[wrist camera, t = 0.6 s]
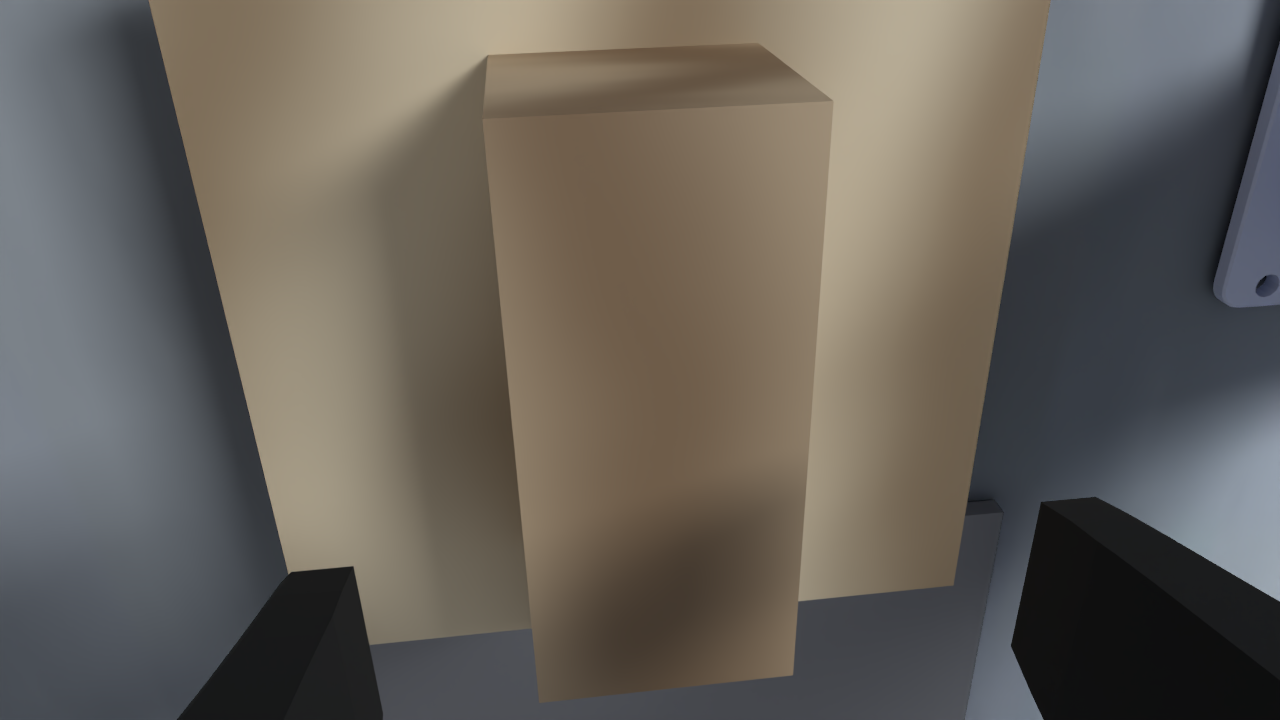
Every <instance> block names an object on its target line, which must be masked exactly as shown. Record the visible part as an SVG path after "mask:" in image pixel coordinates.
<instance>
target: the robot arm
mask: <svg viewBox="0 0 1280 720" xmlns="http://www.w3.org/2000/svg"><path fill="white" fill-rule="evenodd" d="M1265 276H1267V278H1266V280H1265V281H1264V283H1263V284H1262V285H1261V286H1260V287H1259V288H1257V289H1256V286H1257V284H1258V282H1259V281H1260V280H1261V279H1262V278H1263V277H1265ZM1213 292H1214V294H1215V297H1216V298H1218V299H1219V300H1220V301H1222V302H1224V303H1225V304H1227V305H1228V306H1230V307H1236V308H1242V307H1256V306H1269V305H1280V43H1279V47H1278V50H1277V54H1276V57H1275V61H1274V65H1273V68H1272V72H1271V76H1270V79H1269V83H1268V87H1267V90H1266V94H1265V98H1264V101H1263V105H1262V108H1261V112H1260V116H1259V119H1258V123H1257V127H1256V130H1255V134H1254V138H1253V141H1252V145H1251V148H1250V152H1249V156H1248V159H1247V163H1246V167H1245V170H1244V174H1243V178H1242V181H1241V185H1240V189H1239V192H1238V196H1237V199H1236V203H1235V207H1234V210H1233V214H1232V218H1231V221H1230V225H1229V229H1228V232H1227V236H1226V239H1225V243H1224V247H1223V250H1222V254H1221V258H1220V261H1219V265H1218V269H1217V272H1216V276H1215V280H1214V284H1213ZM1011 647H1012V649H1013V652H1014V654H1015V656H1016V659H1017V661H1018V663H1019V666H1020V668H1021V670H1022V673H1023V675H1024V677H1025V680H1026V682H1027V684H1028V687H1029V689H1030V691H1031V694H1032V696H1033V698H1034V700H1035V702H1036V704H1037V706H1038V709H1039V711H1040V713H1041V715H1042V717H1043V719H1044V720H1280V602H1279V601H1278V600H1276V599H1274V598H1272V597H1271V596H1269V595H1267V594H1266V593H1264V592H1262V591H1260V590H1259V589H1257V588H1255V587H1253V586H1252V585H1250V584H1248V583H1247V582H1245V581H1243V580H1241V579H1240V578H1238V577H1236V576H1235V575H1233V574H1231V573H1229V572H1228V571H1226V570H1224V569H1223V568H1221V567H1219V566H1217V565H1216V564H1214V563H1212V562H1211V561H1209V560H1207V559H1206V558H1204V557H1202V556H1200V555H1199V554H1197V553H1195V552H1194V551H1192V550H1190V549H1188V548H1187V547H1185V546H1183V545H1182V544H1180V543H1178V542H1176V541H1175V540H1173V539H1171V538H1170V537H1168V536H1166V535H1164V534H1163V533H1161V532H1159V531H1157V530H1156V529H1154V528H1152V527H1150V526H1149V525H1147V524H1145V523H1143V522H1142V521H1140V520H1138V519H1136V518H1135V517H1133V516H1131V515H1129V514H1127V513H1125V512H1124V511H1122V510H1120V509H1118V508H1116V507H1114V506H1112V505H1110V504H1108V503H1106V502H1104V501H1102V500H1100V499H1098V498H1096V497H1091V498H1080V499H1069V500H1058V501H1048V502H1041V505H1040V510H1039V515H1038V520H1037V524H1036V529H1035V534H1034V539H1033V543H1032V548H1031V553H1030V558H1029V563H1028V567H1027V572H1026V577H1025V582H1024V586H1023V591H1022V596H1021V601H1020V606H1019V610H1018V615H1017V620H1016V625H1015V629H1014V634H1013V639H1012V644H1011ZM177 720H383V710H382V705H381V700H380V695H379V691H378V686H377V681H376V676H375V671H374V666H373V661H372V656H371V651H370V646H369V641H368V636H367V631H366V626H365V621H364V616H363V611H362V606H361V601H360V596H359V591H358V586H357V581H356V576H355V571H354V566H349V567H338V568H328V569H317V570H306V571H295V572H291V573H290V574H289V575H288V576H287V577H286V578H285V579H284V580H283V581H282V582H281V583H280V585H279V586H278V588H277V589H276V590H275V592H274V593H273V594H272V596H271V597H270V598H269V600H268V601H267V602H266V604H265V605H264V607H263V608H262V609H261V611H260V612H259V613H258V615H257V616H256V617H255V619H254V620H253V622H252V623H251V624H250V626H249V627H248V628H247V630H246V631H245V632H244V634H243V635H242V636H241V638H240V639H239V640H238V642H237V643H236V644H235V646H234V647H233V648H232V650H231V651H230V652H229V654H228V655H227V656H226V658H225V659H224V660H223V662H222V663H221V664H220V666H219V667H218V668H217V670H216V671H215V672H214V674H213V675H212V676H211V677H210V679H209V680H208V681H207V683H206V684H205V685H204V686H203V688H202V689H201V690H200V691H199V693H198V694H197V695H196V696H195V698H194V699H193V700H192V701H191V703H190V704H189V705H188V706H187V708H186V709H185V710H184V711H183V713H182V714H181V715H180V717H179V718H178V719H177Z"/></svg>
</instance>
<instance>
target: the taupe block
mask: <svg viewBox="0 0 1280 720" xmlns="http://www.w3.org/2000/svg"><path fill="white" fill-rule="evenodd" d="M1050 1H1051V0H149V4H150V8H151V12H152V17H153V21H154V25H155V29H156V33H157V37H158V41H159V45H160V49H161V53H162V58H163V62H164V66H165V70H166V74H167V78H168V82H169V86H170V90H171V94H172V99H173V103H174V107H175V111H176V115H177V119H178V123H179V127H180V131H181V136H182V140H183V144H184V148H185V152H186V156H187V160H188V164H189V168H190V172H191V177H192V181H193V185H194V189H195V193H196V197H197V201H198V205H199V209H200V213H201V218H202V222H203V226H204V230H205V234H206V238H207V242H208V246H209V250H210V254H211V259H212V263H213V267H214V271H215V275H216V279H217V283H218V287H219V291H220V295H221V300H222V304H223V308H224V312H225V316H226V320H227V324H228V328H229V332H230V336H231V341H232V345H233V349H234V353H235V357H236V361H237V365H238V369H239V373H240V377H241V382H242V386H243V390H244V394H245V398H246V402H247V406H248V410H249V414H250V419H251V423H252V427H253V431H254V435H255V439H256V443H257V447H258V451H259V455H260V460H261V464H262V468H263V472H264V476H265V480H266V484H267V488H268V492H269V496H270V501H271V505H272V509H273V513H274V517H275V521H276V525H277V529H278V533H279V537H280V542H281V546H282V550H283V554H284V558H285V562H286V566H287V570H288V574H290V573H291V572H295V571H306V570H317V569H328V568H338V567H349V566H354V571H355V576H356V581H357V586H358V591H359V596H360V601H361V606H362V611H363V616H364V621H365V626H366V631H367V636H368V641H369V645H374V644H384V643H394V642H404V641H414V640H424V639H433V638H443V637H453V636H463V635H473V634H482V633H492V632H502V631H512V630H522V629H531V628H532V634H533V645H534V655H535V665H536V675H537V686H538V696H539V703H544V702H553V701H562V700H572V699H581V698H590V697H599V696H608V695H617V694H626V693H635V692H645V691H654V690H663V689H672V688H681V687H690V686H699V685H709V684H718V683H727V682H736V681H745V680H754V679H763V678H773V677H782V676H791V675H793V668H794V654H795V640H796V626H797V612H798V601H806V600H816V599H826V598H835V597H845V596H855V595H865V594H875V593H884V592H894V591H904V590H914V589H924V588H933V587H943V586H953V585H954V579H955V573H956V567H957V561H958V555H959V549H960V543H961V536H962V530H963V524H964V518H965V512H966V506H967V500H968V494H969V488H970V482H971V476H972V470H973V464H974V458H975V452H976V446H977V440H978V434H979V428H980V422H981V416H982V410H983V404H984V398H985V392H986V386H987V380H988V374H989V368H990V362H991V356H992V350H993V344H994V338H995V332H996V326H997V320H998V314H999V308H1000V302H1001V296H1002V290H1003V284H1004V278H1005V272H1006V266H1007V260H1008V254H1009V248H1010V242H1011V236H1012V230H1013V224H1014V218H1015V212H1016V206H1017V199H1018V193H1019V187H1020V181H1021V175H1022V169H1023V163H1024V157H1025V151H1026V145H1027V139H1028V133H1029V127H1030V121H1031V115H1032V109H1033V103H1034V97H1035V91H1036V85H1037V79H1038V73H1039V67H1040V61H1041V55H1042V49H1043V43H1044V37H1045V31H1046V25H1047V19H1048V13H1049V7H1050Z"/></svg>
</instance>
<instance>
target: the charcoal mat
mask: <svg viewBox="0 0 1280 720" xmlns="http://www.w3.org/2000/svg"><path fill="white" fill-rule="evenodd" d="M1003 513H1004V512H1003V511H1002V509H1001V508H1000V507H999V505H998V504H997V503H996V501H995V500H988V501H977V502H967V506H966V512H965V518H964V524H963V530H962V536H961V543H960V549H959V555H958V561H957V567H956V573H955V579H954V585H953V586H943V587H933V588H924V589H914V590H904V591H894V592H884V593H875V594H865V595H855V596H845V597H835V598H826V599H816V600H806V601H798V612H797V626H796V640H795V654H794V668H793V675H791V676H782V677H773V678H763V679H754V680H745V681H736V682H727V683H718V684H709V685H699V686H690V687H681V688H672V689H663V690H654V691H645V692H635V693H626V694H617V695H608V696H599V697H590V698H581V699H572V700H562V701H553V702H544V703H539V696H538V686H537V675H536V665H535V655H534V645H533V634H532V628H531V629H522V630H512V631H502V632H492V633H482V634H473V635H463V636H453V637H443V638H433V639H424V640H414V641H404V642H394V643H384V644H374V645H369V646H370V651H371V656H372V661H373V666H374V671H375V676H376V681H377V686H378V691H379V695H380V700H381V705H382V710H383V720H965V715H966V710H967V704H968V699H969V694H970V688H971V683H972V678H973V672H974V667H975V662H976V656H977V651H978V646H979V641H980V635H981V630H982V625H983V619H984V614H985V609H986V603H987V598H988V593H989V587H990V582H991V577H992V571H993V566H994V561H995V555H996V550H997V545H998V540H999V534H1000V529H1001V524H1002V518H1003Z"/></svg>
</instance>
